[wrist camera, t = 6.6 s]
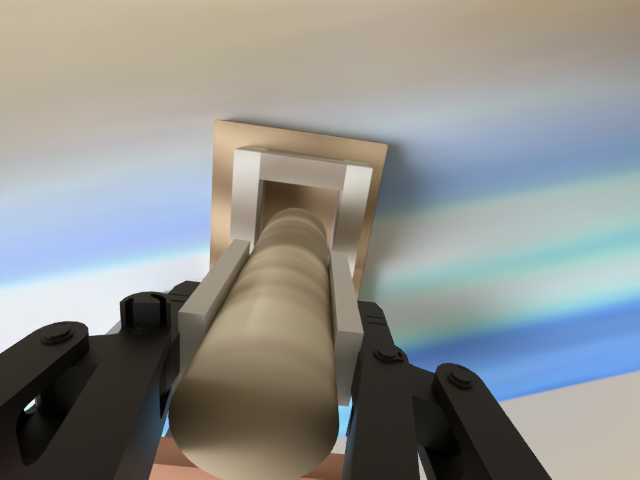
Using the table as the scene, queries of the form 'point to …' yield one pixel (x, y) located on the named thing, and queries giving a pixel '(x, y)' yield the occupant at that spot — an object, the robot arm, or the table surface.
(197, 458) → the peg
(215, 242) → the socket station
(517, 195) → the table surface
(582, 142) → the table surface
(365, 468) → the robot arm
